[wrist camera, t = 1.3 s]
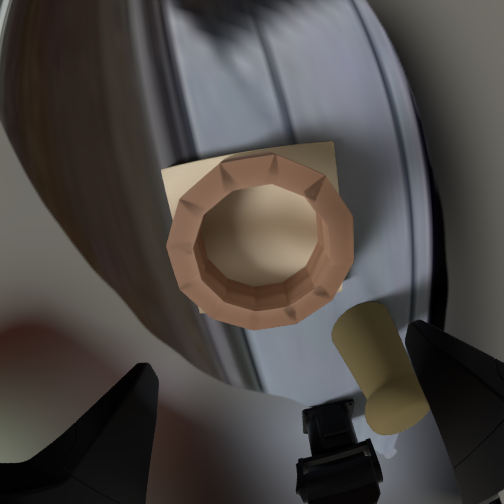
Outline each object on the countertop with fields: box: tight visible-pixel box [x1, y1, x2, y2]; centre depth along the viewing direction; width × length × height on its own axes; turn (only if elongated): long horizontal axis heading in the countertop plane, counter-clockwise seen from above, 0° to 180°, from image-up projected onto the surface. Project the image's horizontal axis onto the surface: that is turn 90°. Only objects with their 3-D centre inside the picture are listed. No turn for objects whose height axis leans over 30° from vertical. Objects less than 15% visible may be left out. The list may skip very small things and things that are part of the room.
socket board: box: [161, 141, 354, 330], centre depth 17 cm, size 11×11×4 cm
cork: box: [332, 302, 430, 435], centre depth 18 cm, size 6×6×11 cm
